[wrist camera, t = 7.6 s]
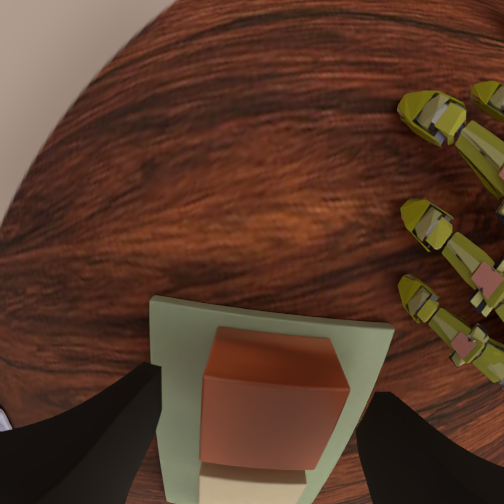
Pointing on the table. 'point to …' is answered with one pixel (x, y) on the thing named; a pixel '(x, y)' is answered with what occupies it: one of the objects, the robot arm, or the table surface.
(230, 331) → the reddish orange block
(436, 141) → the robotic hand
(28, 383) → the table surface
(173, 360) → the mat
